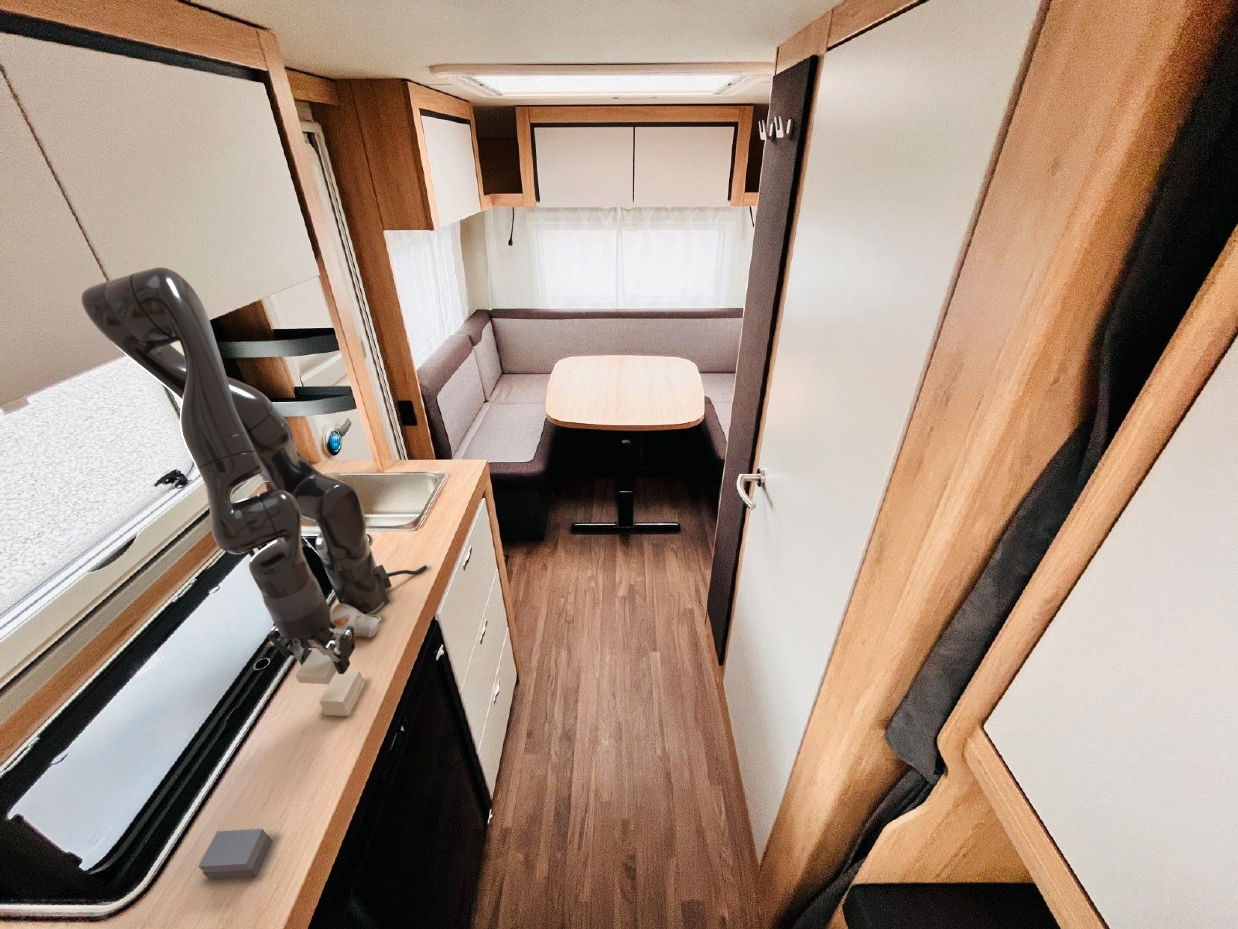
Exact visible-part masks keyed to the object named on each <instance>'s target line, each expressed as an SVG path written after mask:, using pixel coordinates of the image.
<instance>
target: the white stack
mask: <svg viewBox="0 0 1238 929" xmlns="http://www.w3.org/2000/svg"><path fill="white" fill-rule="evenodd" d="M365 685H366V682H365V679H364V677H363V676H362V673H361V671H360V670H355V669H347V671H346V672H345V673H344V674H338V672H337V671H336V673H335V675H334V676H333V678H332V680H331V681H330V683H329V684H327V687H326V689H325V690H324V692H323V694H322V695H321V697H320V699H319V700H318V701H319V703H320V706H321V710H322V711H323V714H324V716H340V717H349V716H350V714H351V713H352V710H353V708H354V706H355V704H356V702H357V701H358V699H359V697H360V695H361V693H362V691H363V689H364V687H365Z"/></svg>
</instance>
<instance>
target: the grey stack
mask: <svg viewBox="0 0 1238 929" xmlns="http://www.w3.org/2000/svg"><path fill="white" fill-rule="evenodd" d="M272 844H273V839H272V837H271V836H270V835H269V834H268V833H267V832H266V831H265V830H264V828H251V829H250V828H249V829H234V830H233V829H231V830H217V831H216V833H215V835H214V837H213V838H212V840H211V842H210V844H209V846H208V847H207V850H206V851H205V853H204V855H203V857H202V858H201V861H200V863H199V864H198V866H197V867H198V869H200V870H201V871H202V874H203V875H204V876H205V877H206V878H207V879H208V880H213V879H214V880H215V879H216V880H217V879H234V878H249V877H251V878H252V877H258V874H259V872H260V870H261V868H262V866H263V863H264V861H265V859H266V856H267V854H268V853H269V850H270V848H271V846H272Z"/></svg>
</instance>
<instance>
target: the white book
mask: <svg viewBox="0 0 1238 929" xmlns="http://www.w3.org/2000/svg"><path fill="white" fill-rule="evenodd" d="M329 642H330V641H329ZM328 644H329V643H328ZM328 644H327V645H328ZM327 645H326V647H327ZM311 650H312V652H311V653H310V655H309V656H308V658H307V659H306V661H305V662H304V663H303V665H300V666H301V667H300V668H299V669H298V671H297V672H296V673H295V677H296V679H297V681H298V684H312V685H313V684H315V685H329V683H330V681H331V680H332V678H333V676H334V675H335V673H336V671H337V669H336V667H335V665H334V663H333V660H332V659H331V658H330V657H329V656H328V655H325V656H324V655H323V654H322V653H321V652H320V651H319V650H317V649H316V648H312V649H311ZM337 650H338V649H337V648H336V647H335V649H334V651H335V652H337Z"/></svg>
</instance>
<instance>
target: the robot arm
mask: <svg viewBox="0 0 1238 929" xmlns="http://www.w3.org/2000/svg"><path fill="white" fill-rule="evenodd" d="M80 297H81V298H80V299H81V306H82V307H83V310H84V312H85V313H86V315H87V317H88V318H89V320H90V321H91V323H92V324H93V325H94V326H95V327H96V329H97V330H98V331H99V332H101V334H102V335H103V336H104V337H105V338H106V339H107V340H108V341H110V343H111V344H113V345H114V346H116V347H117V348H118V350H120V351H121V352H123V353H124V354H125V355H126V356H127V357H128V358H130V359H131V360H132V361H133V362H135V363H136V364H137V365H138V366H139V367H140V368H142V369H143V370H145V371H146V372H147V373H148V374H150V375H151V376H152V377H153V378H154V379H156V380H157V381H158V382H160V384H162V385H163V386H164V387H166V388H167V389H168V390H169V391H170V392H171V393H172V394H174V395H175V396H176V397H177V398H178V399H179V400H180V401H181V407H180V413H179V414H180V415H179V427H180V432H181V433H180V434H181V437H182V440H183V442H184V445H185V447H186V449H187V451H188V453H189V455H190V457H191V459H192V461H193V463H194V465H195V467H196V469H197V471H198V473H199V475H200V477H201V479H202V482H203V485H204V488H205V493H206V496H207V497H206V498H207V502H208V508H209V519H210V520H209V521H210V528H211V535H212V537H213V540H214V542H215V544H216V545H217V546H218V547H219V548H220V549H221V550H222V551H224V552H226V553H229V554H232V555H241V554H244V553H247V552H249V551H253V550H254V549H257V548H260V547H262V546H264V547H262V548H261V549H260V550H258V551H257V552H255V554H253V555H252V557H251V559H250V560H249V563H248V570H249V572H250V575H251V577H252V578H253V580H254V583H255V584H256V586H257V588H258V590H259V592H260V595H261V597H262V600H263V603H264V606H265V608H266V610H267V611H268V612H267V613H268V614H269V615H270V618H271V620H272V621H273V623H274V626H273V627H272V628H271V629H270V630H269V632H268V633H267V635H266V637H267V639H269V641H270V642H271V643H272V644H273V645H274V647H275V648H276V649H277V650H278V652H280V654H281V655H282V656H283V657H285V658H291V656H292V657H293V658H294V660H296V661H298V662H299V664H300V666H302V665H303V663H304V662H305V661H306V659H307V658H308V656H309V655H310V653H311V652H312V650H313V649H314V648H316V649H317V650H319V651H320V652H321V653H322V654H323V655H324V656H325V655H328V656H329V657H330V658H331V659H332V660H333V663H334V665H335V667H336V669H337V672H338V674H344V673H345V672H346V671H347V670H349V667H350V666H351V661H350V657H351V656H352V654H353V653H354V650H355V649H356V638H355V637H356V636H355V635H354V628H353V627H351V626H347V628H346V629H345V630H344V629H339V628H337V627H336V625H335V624H333V623H332V622H331V619H330V613H331V608H330V607H329V604H328V601H327V599H326V596H325V594H324V593H323V590H322V587H321V585H320V582H319V581H318V579H317V577H316V576H315V575H314V573H313V571H312V569H311V566H310V564H309V562H308V560H307V557H306V554H305V552H304V547H303V540H302V519H303V520H306V521H308V522H311V523H312V524H313V523H314V524H316V525H317V526H318V528H319V530H320V533H319V534H318V535H317V536H316V539H315V543H314V546H315V549H316V551H317V554H318V556H319V558H320V561H321V563H322V565H323V568H324V570H325V573H326V575H327V577H328V580H329V582H330V585H331V587H332V589H333V592H334V596H335V597H336V600H337V602H338V604H347V605H350V606H352V607H354V608H356V609H357V610H358V611H360V612H361V613H363V614H370V615H375V614H377V612H379V611H380V610H381V609H382V608H383V607H384V606H385V605H387V604H388V603H390V598H389V595H388V592H387V589H389V588H392V587H393V585H392V583H391V579H390V577H394V576H398V575H411V576H413V575H414V576H415V575H418V574H420V573H422V572H424V571H425V570H427V569H428V566H427V564H425V565H423V566H421V567H420V568H419V569H416V570H410V569H401V570H397V571H391V572H388V573H387V571H386V569H385V567H384V565H383V564H380V565H377V564H376V560H375V557H374V555H373V552H372V549H371V546H370V543H369V540H368V537H367V534H366V533H367V521H366V517H365V513H364V509H363V506H362V502H361V499H360V497H359V496H360V495H359V494H358V492H357V490H356V489H355V488H354V486H353V485H351V484H350V483H349V482H345V481H343V480H340V479H337V478H335V477H332V476H331V477H330V476H328V475H326V474H323V473H322V472H320V471H319V470H318V469H316V468H315V467H314V466H313V465H312V464H311V463H310V462H309V461H308V460H307V459H306V457H304V456H303V455H302V454H301V452H300V451H299V449H298V447H297V444H296V439H295V436H294V432H293V429H292V427H291V425H290V423H289V422H288V420H287V419H286V418H285V417H284V415H283V414H282V413H281V412H280V411H279V409H278V408H277V407H276V406H275V405H274V404H273V403H272V401H271V400H270V399H269V398H268V396H266V395H265V394H264V393H262V391H259V390H258V389H256V388H255V387H253V386H251V385H249V384H248V383H247V384H246V383H244V382H241V381H240V380H237V379H234V378H231V377H229V376H227V374H226V369H225V367H224V362H223V359H222V356H221V353H220V350H219V347H218V343H217V340H216V337H215V334H214V331H213V327H212V324H211V320H210V318H209V315H208V312H207V311H206V308H205V306H204V304H203V302H202V300H201V298H200V296H199V295H198V294H197V292H196V290H195V289H194V288H193V286H192V285H191V284H190V283H189V282H188V281H187V280H186V279H185V277H183V276H181V275H180V274H179V273H177V272H175V271H174V270H173V269H170V268H167V267H161V266H159V267H151V268H148V269H144V270H141V271H137V272H134V273H130V274H126V275H124V276H121V277H117V278H113V279H110V280H108V281H104V282H101V283H98V284H95V285H92V286H90V287H87V288H86V289H85V290H83V292H82V293H81V296H80ZM177 342H179V343H180V345H181V348H182V352H183V354H182V353H181V352H180V351H179V350H177V349H176V348H175V347H174V346H172V344H173V343H177ZM258 475H261V476H262V477H263V478H265V479H266V481H268V482H269V483H270V485H271V486H272V487H273V489H270V490H266V491H263V492H260V493H258V494H255V495H252V496H249V497H246V498H243V499H240V500H238V501H235V502H232V494H233V492H234V491H235V490H236V489H237V488H238V487H240V486H241V485H242V484H244V483H246V482H248V481H250V480H252V479H253V478H256V477H257V476H258ZM265 545H266V546H265ZM329 641H330V642H329ZM328 643H329V644H328ZM287 644H288V646H287ZM327 644H328V645H327ZM326 645H327V647H326ZM335 647H336V648H337V649H338V650H337V652H335V651H334V649H335Z"/></svg>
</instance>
